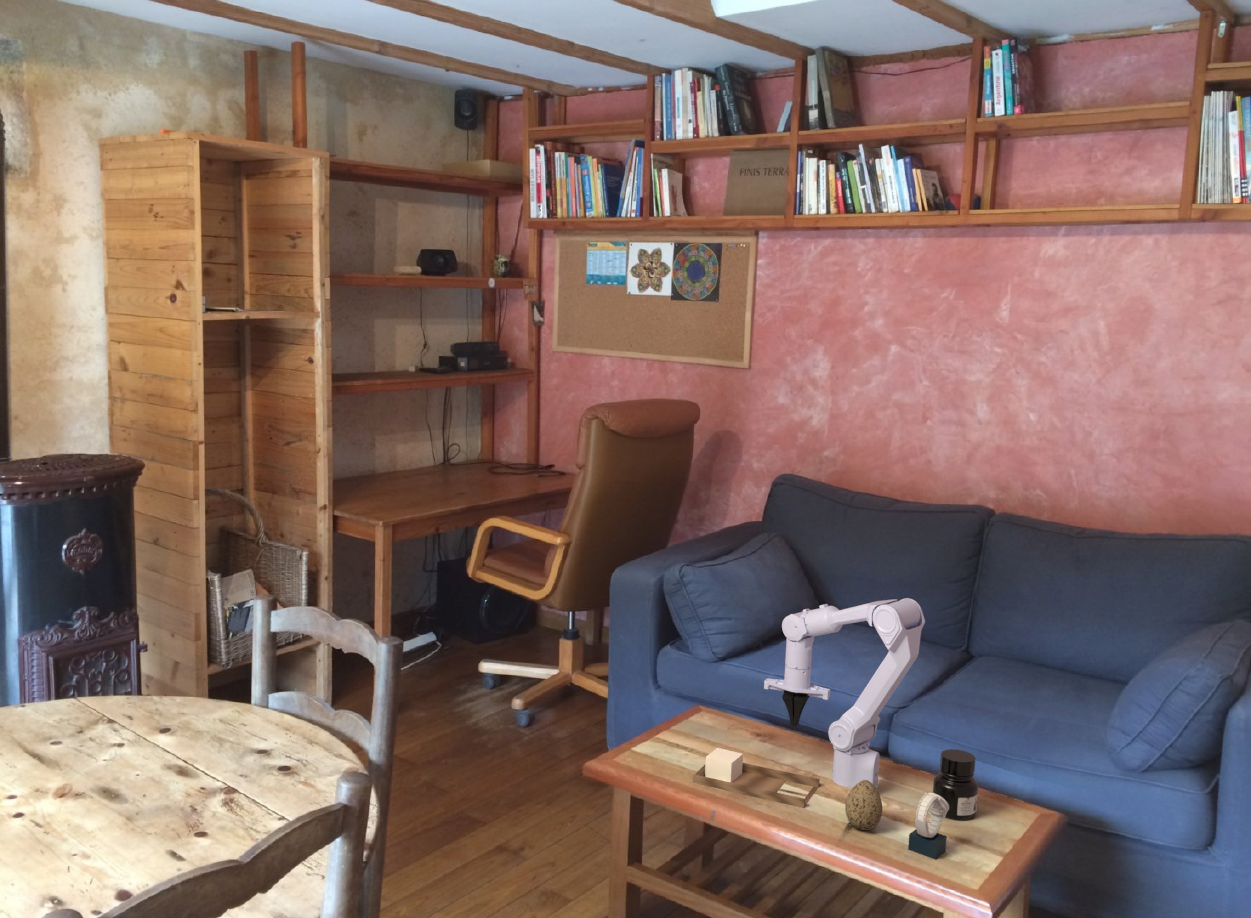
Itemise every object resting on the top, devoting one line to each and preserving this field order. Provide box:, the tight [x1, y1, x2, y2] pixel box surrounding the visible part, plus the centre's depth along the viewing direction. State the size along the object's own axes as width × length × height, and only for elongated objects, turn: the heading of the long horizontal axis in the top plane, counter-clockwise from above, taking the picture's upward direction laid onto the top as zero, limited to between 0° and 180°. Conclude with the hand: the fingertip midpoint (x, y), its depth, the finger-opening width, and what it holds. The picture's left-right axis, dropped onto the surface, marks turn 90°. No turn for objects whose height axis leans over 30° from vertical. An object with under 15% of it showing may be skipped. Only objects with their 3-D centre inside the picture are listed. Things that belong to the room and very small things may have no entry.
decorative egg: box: [844, 780, 883, 831], centre depth 216 cm, size 7×7×10 cm
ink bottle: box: [932, 748, 979, 821], centre depth 225 cm, size 10×9×12 cm
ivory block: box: [704, 747, 744, 783], centre depth 236 cm, size 6×6×4 cm
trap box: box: [692, 762, 821, 809], centre depth 232 cm, size 24×12×3 cm, turn 65°
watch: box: [907, 792, 949, 860], centre depth 208 cm, size 6×8×11 cm
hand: (794, 724), depth 246 cm, fingers closed
